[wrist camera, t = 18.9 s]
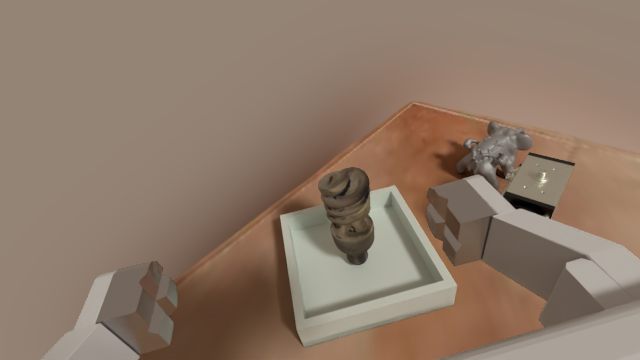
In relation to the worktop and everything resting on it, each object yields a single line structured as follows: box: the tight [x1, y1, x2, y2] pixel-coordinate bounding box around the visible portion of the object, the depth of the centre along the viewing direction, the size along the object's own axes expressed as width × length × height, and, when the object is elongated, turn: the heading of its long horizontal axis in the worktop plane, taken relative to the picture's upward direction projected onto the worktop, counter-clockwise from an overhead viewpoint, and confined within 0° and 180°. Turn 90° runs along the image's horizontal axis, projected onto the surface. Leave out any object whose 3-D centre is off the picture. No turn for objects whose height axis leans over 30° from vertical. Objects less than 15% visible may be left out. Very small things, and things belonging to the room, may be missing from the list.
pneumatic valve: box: [501, 153, 575, 220], centre depth 39 cm, size 6×12×12 cm, turn 139°
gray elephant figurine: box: [456, 121, 533, 190], centre depth 52 cm, size 9×12×8 cm
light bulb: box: [318, 167, 374, 265], centre depth 39 cm, size 6×6×15 cm
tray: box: [280, 185, 457, 347], centre depth 43 cm, size 18×18×4 cm
